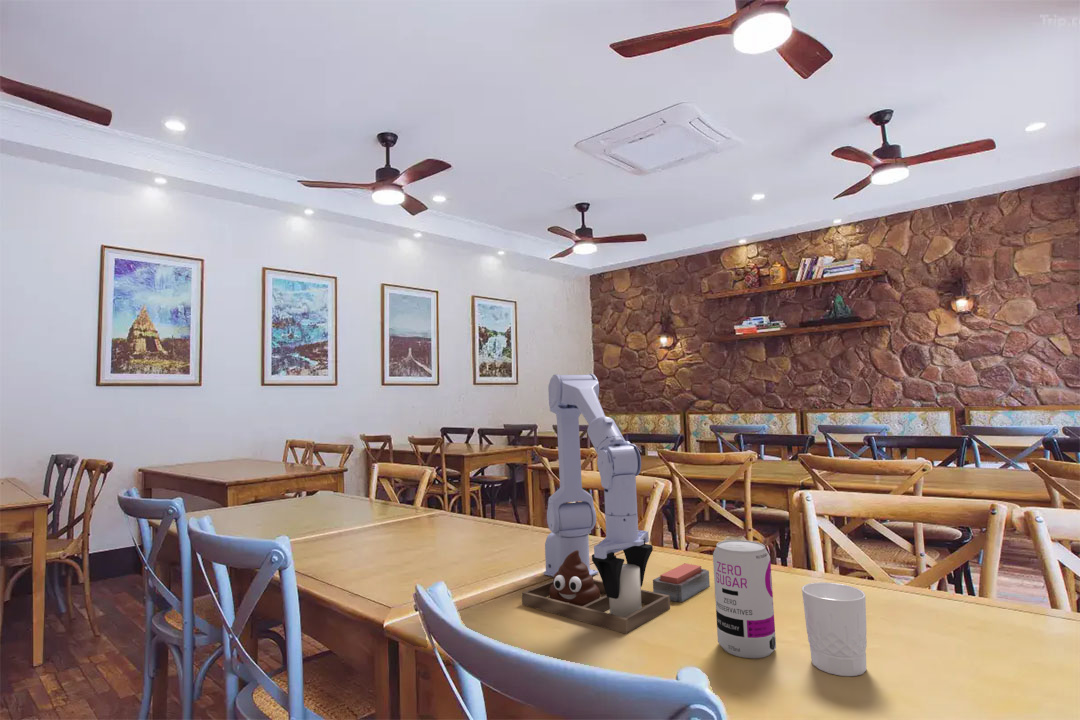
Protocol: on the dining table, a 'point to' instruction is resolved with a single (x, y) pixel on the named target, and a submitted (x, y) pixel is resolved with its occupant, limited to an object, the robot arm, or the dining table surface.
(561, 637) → the dining table surface
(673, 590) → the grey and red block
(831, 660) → the white cup
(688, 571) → the bar
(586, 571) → the poop emoji
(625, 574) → the wax pillar
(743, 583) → the supplement can
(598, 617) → the divided tray
